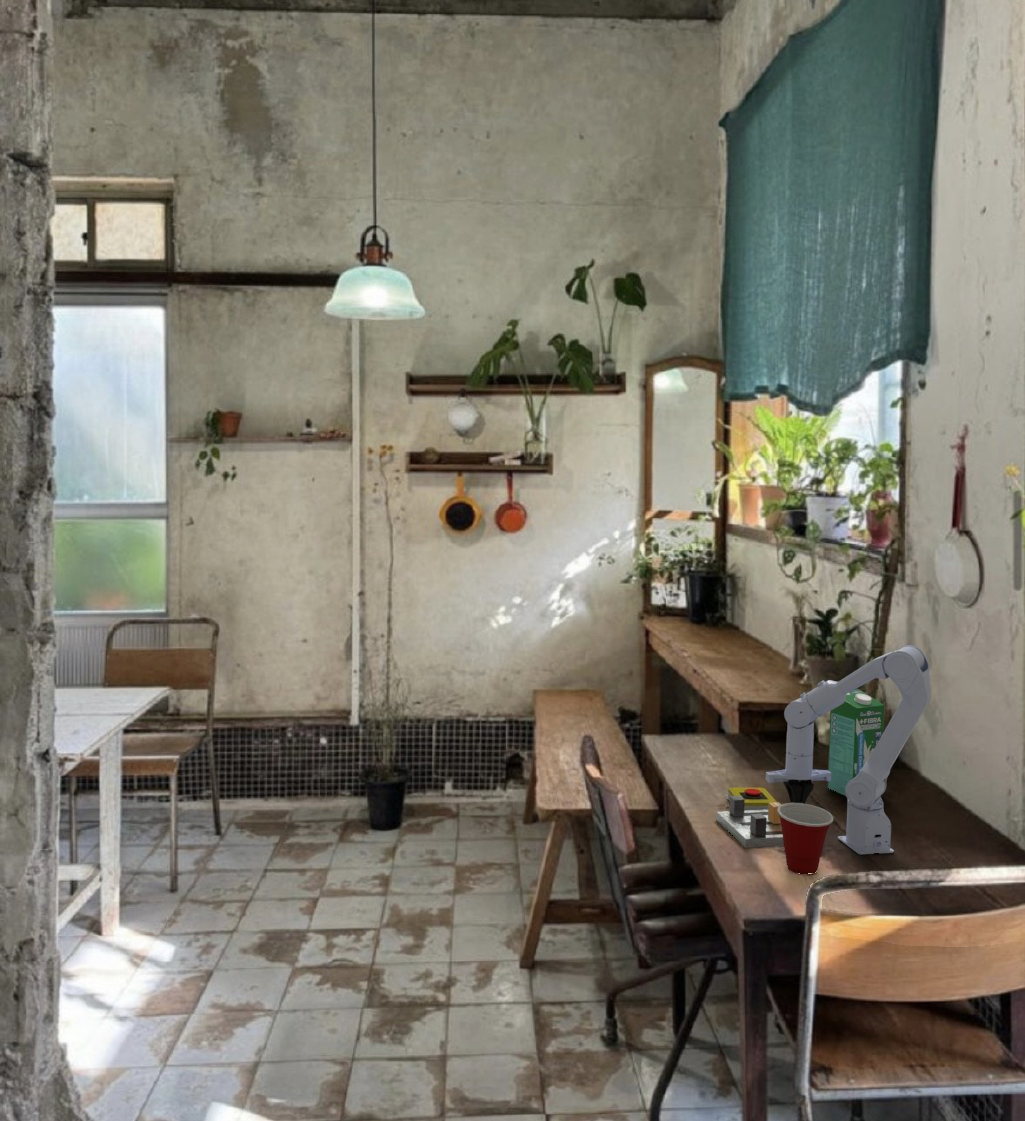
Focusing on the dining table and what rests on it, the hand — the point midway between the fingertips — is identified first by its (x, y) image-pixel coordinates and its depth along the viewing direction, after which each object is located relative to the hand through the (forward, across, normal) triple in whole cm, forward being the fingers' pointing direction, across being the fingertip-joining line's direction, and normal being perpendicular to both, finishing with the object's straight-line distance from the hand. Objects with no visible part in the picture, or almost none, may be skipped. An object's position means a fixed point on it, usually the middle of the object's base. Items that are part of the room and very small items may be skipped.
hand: (797, 812), depth 218 cm
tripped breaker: (+2, +5, 0) cm, 5 cm away
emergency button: (+5, +3, -17) cm, 18 cm away
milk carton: (+4, -27, -24) cm, 36 cm away
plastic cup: (+4, +8, +21) cm, 23 cm away
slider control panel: (+4, +8, 0) cm, 9 cm away
